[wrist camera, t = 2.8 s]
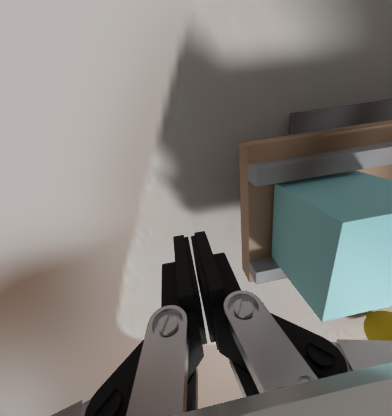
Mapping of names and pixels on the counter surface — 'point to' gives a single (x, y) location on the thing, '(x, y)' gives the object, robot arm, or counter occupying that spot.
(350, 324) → the counter surface
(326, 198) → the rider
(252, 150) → the wooden tray
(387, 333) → the lemon
